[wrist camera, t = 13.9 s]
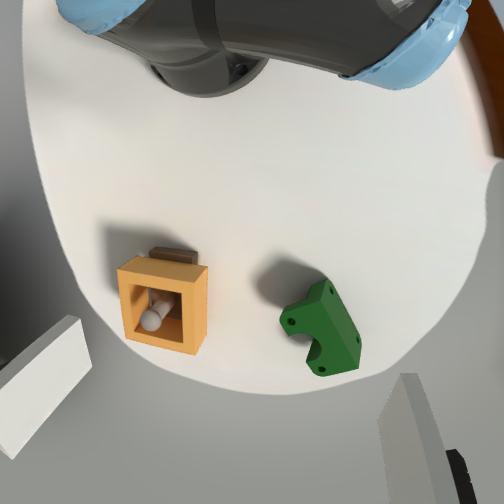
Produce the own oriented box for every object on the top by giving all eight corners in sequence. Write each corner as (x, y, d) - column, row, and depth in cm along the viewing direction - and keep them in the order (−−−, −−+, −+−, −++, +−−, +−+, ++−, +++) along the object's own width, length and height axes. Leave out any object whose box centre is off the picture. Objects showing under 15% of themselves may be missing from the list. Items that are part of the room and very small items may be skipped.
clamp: (301, 289, 43) (270, 301, 35) (338, 274, 40) (314, 285, 32) (328, 365, 41) (303, 392, 33) (366, 355, 38) (349, 383, 30)
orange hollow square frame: (136, 255, 38) (116, 269, 33) (207, 266, 37) (194, 282, 32) (141, 320, 41) (125, 338, 37) (206, 334, 40) (195, 355, 35)
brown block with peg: (155, 246, 39) (118, 273, 30) (197, 252, 39) (167, 282, 30) (161, 333, 44) (132, 371, 35) (197, 341, 43) (174, 382, 34)
